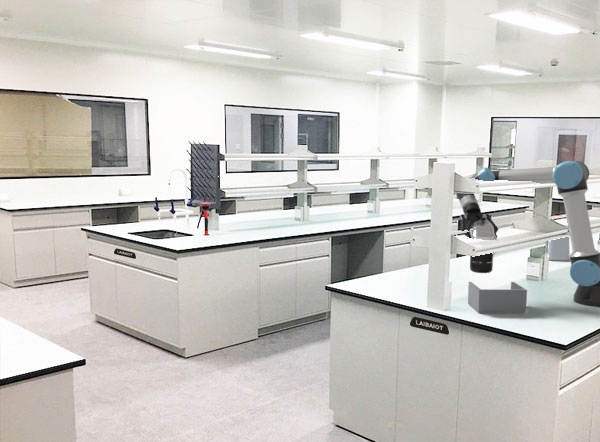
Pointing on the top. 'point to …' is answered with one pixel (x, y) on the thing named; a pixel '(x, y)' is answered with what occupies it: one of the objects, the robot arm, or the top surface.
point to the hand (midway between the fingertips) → (485, 244)
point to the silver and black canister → (484, 232)
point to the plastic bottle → (559, 249)
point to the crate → (497, 299)
